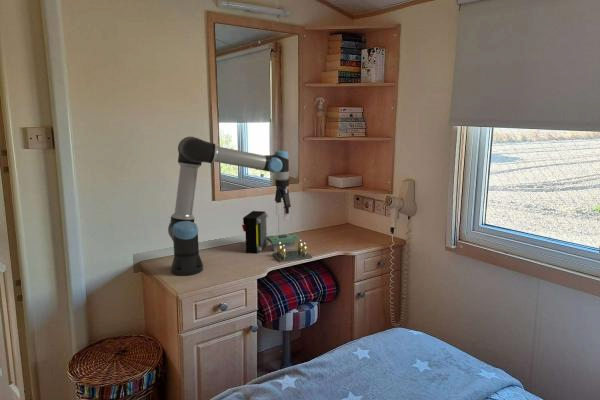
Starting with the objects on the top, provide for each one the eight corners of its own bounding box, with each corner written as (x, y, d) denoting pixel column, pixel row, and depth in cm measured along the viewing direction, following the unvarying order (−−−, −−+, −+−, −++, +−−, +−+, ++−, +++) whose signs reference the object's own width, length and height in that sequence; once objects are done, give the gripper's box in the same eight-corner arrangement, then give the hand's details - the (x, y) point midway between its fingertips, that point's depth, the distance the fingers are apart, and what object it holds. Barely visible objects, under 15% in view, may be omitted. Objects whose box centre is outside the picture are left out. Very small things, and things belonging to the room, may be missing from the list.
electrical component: (260, 254, 239) (259, 218, 235) (242, 252, 241) (241, 217, 237) (269, 244, 256) (268, 211, 252) (252, 243, 258) (251, 210, 254)
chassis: (280, 262, 225) (279, 247, 223) (272, 255, 237) (272, 240, 235) (312, 258, 231) (312, 243, 230) (303, 251, 243) (303, 237, 241)
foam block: (274, 251, 243) (274, 242, 242) (271, 248, 248) (271, 240, 247) (294, 248, 247) (294, 240, 246) (291, 246, 252) (291, 238, 251)
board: (272, 244, 239) (272, 239, 239) (266, 239, 248) (266, 234, 248) (299, 241, 245) (299, 236, 244) (293, 236, 254) (293, 232, 254)
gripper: (296, 181, 230) (296, 220, 234) (281, 175, 253) (281, 211, 257) (283, 182, 227) (283, 222, 231) (268, 176, 250) (269, 212, 254)
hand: (282, 216), depth 244 cm, fingers open, 13 cm apart
